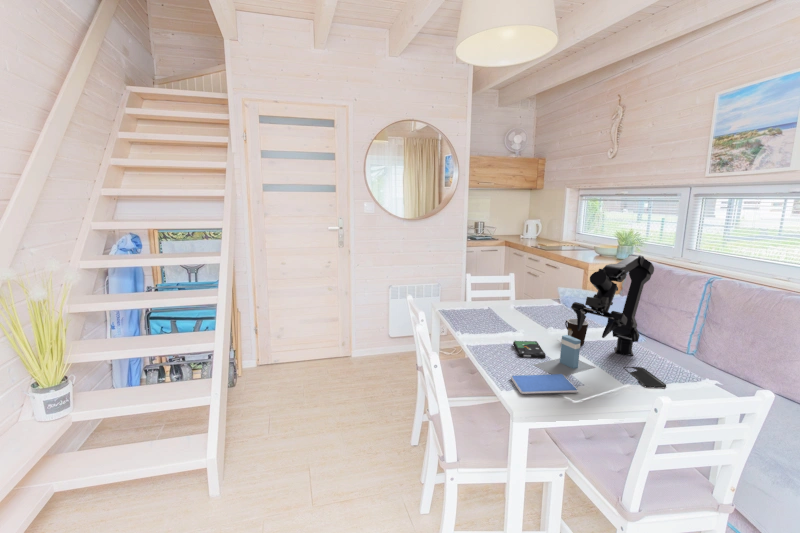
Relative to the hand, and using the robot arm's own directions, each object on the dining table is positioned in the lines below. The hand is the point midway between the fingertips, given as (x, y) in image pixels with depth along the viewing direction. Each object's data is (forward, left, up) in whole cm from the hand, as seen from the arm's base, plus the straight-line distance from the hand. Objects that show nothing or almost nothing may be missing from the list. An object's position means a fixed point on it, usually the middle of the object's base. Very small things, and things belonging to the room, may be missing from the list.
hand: (590, 334), depth 145 cm
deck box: (-2, -6, -14) cm, 16 cm away
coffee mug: (-31, -4, -15) cm, 35 cm away
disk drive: (-10, -22, -16) cm, 29 cm away
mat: (0, -8, -15) cm, 17 cm away
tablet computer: (+20, -14, -15) cm, 28 cm away
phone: (-3, +19, -16) cm, 25 cm away
